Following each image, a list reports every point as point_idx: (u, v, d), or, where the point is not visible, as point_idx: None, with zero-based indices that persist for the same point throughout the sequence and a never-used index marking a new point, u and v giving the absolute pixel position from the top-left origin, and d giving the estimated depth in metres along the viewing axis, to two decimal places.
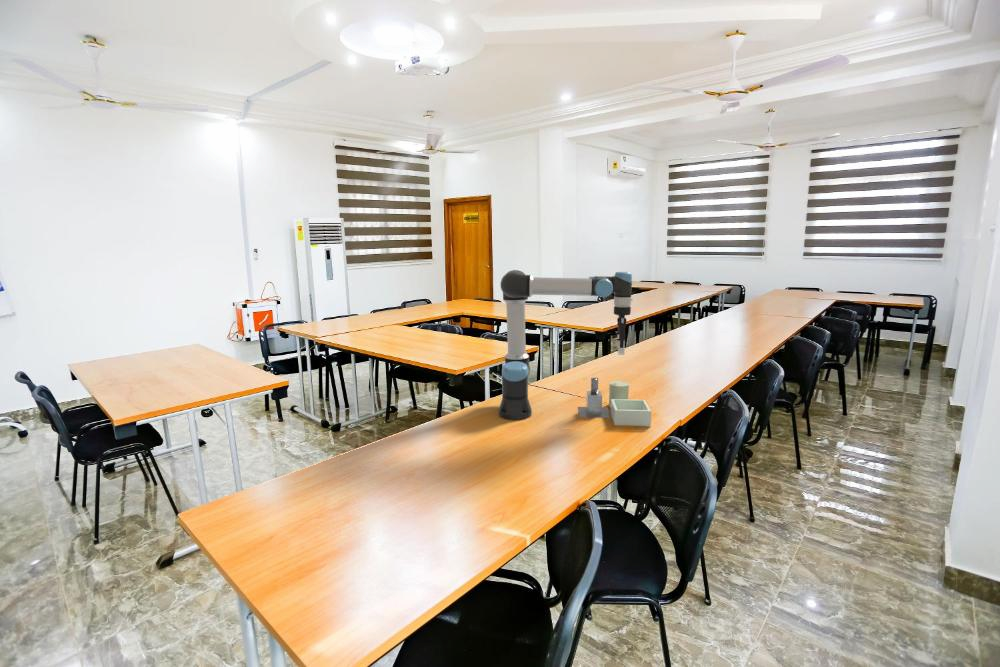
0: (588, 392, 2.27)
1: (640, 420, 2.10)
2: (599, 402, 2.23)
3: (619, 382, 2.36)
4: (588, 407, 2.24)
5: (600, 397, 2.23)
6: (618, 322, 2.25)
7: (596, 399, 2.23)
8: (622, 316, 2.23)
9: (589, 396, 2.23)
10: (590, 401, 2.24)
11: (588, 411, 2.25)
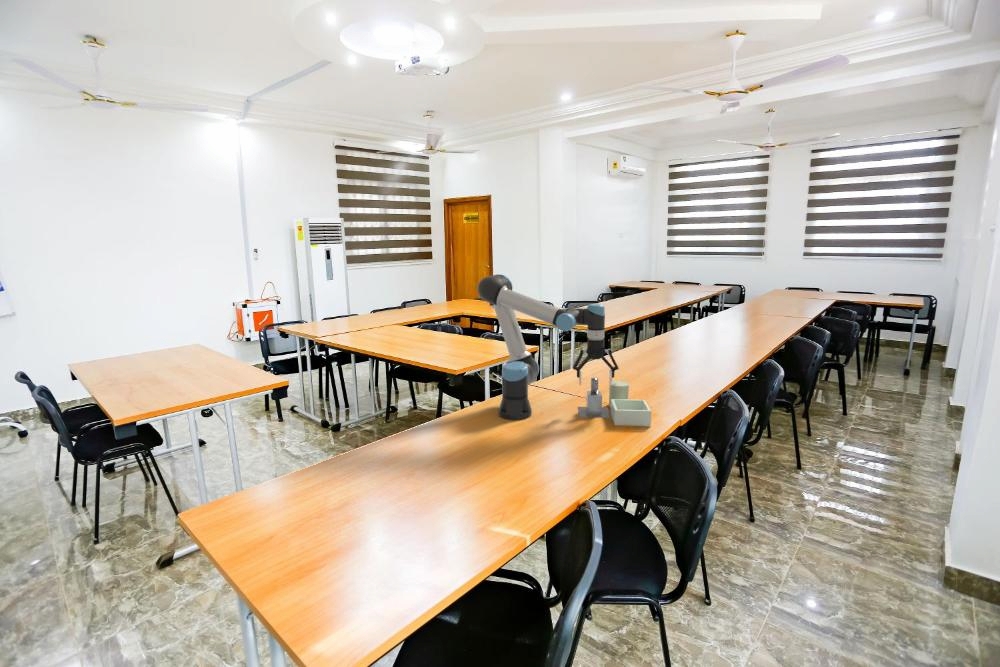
0: (588, 392, 2.27)
1: (640, 420, 2.10)
2: (599, 402, 2.23)
3: (619, 382, 2.36)
4: (588, 407, 2.24)
5: (600, 397, 2.23)
6: None
7: (596, 399, 2.23)
8: (587, 348, 2.22)
9: (589, 396, 2.23)
10: (590, 401, 2.24)
11: (588, 411, 2.25)
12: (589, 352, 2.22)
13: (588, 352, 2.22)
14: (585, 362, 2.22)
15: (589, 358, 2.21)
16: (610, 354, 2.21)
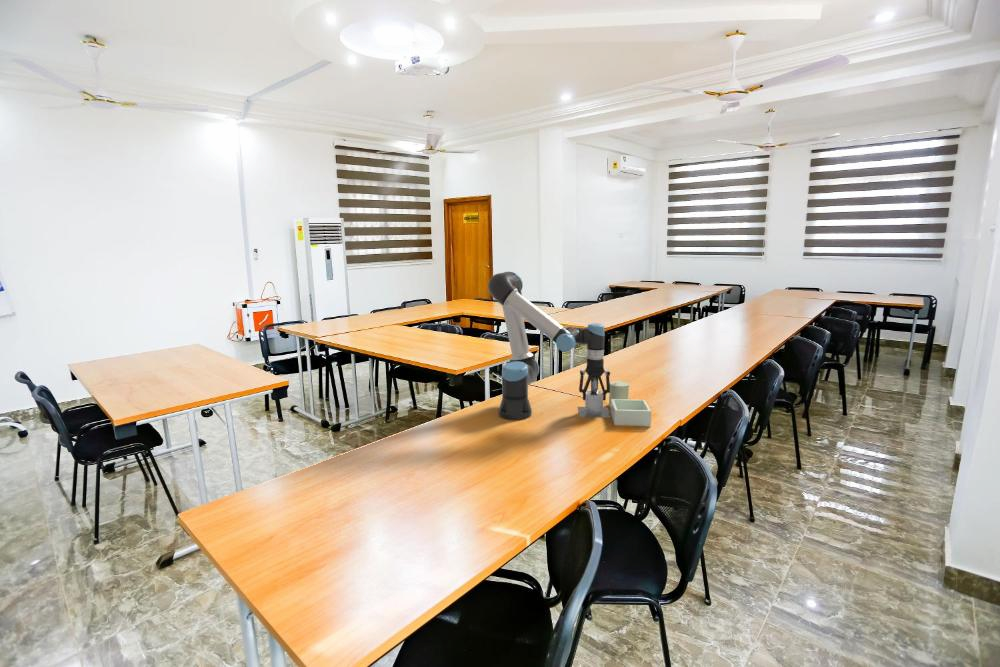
0: (588, 392, 2.27)
1: (640, 420, 2.10)
2: (599, 402, 2.23)
3: (619, 382, 2.36)
4: (588, 407, 2.24)
5: (600, 397, 2.23)
6: None
7: (596, 399, 2.23)
8: None
9: (589, 396, 2.23)
10: (590, 401, 2.24)
11: (588, 411, 2.25)
12: (588, 371, 2.23)
13: (588, 371, 2.23)
14: (588, 383, 2.24)
15: (590, 378, 2.23)
16: (607, 376, 2.23)
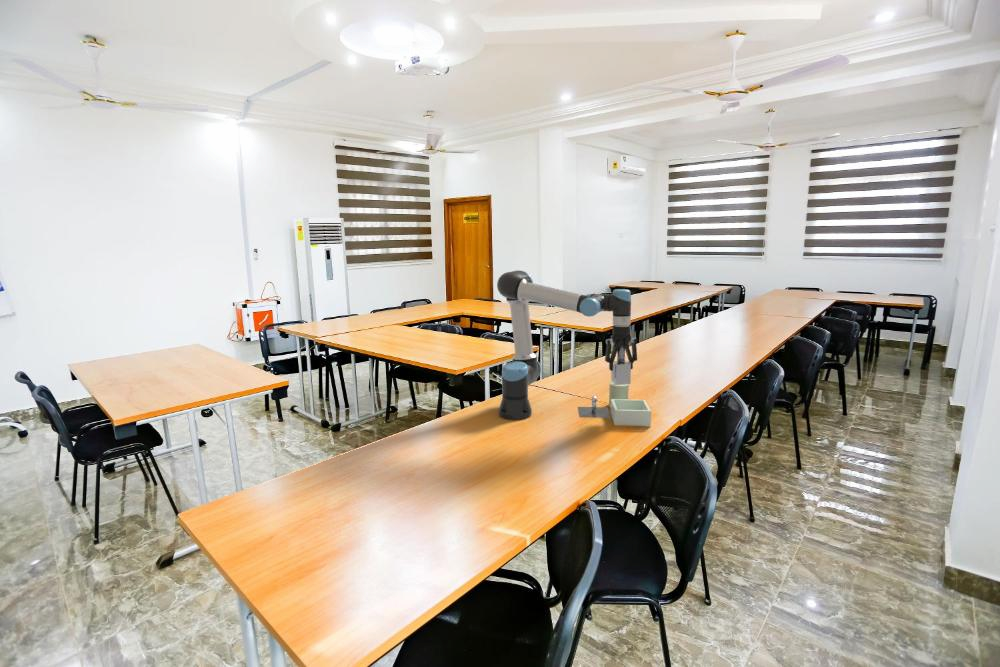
0: (614, 362, 2.17)
1: (640, 420, 2.10)
2: (628, 371, 2.14)
3: None
4: (617, 377, 2.14)
5: (629, 365, 2.14)
6: None
7: (625, 368, 2.14)
8: (612, 336, 2.14)
9: (618, 365, 2.13)
10: (619, 371, 2.14)
11: (617, 381, 2.15)
12: (616, 339, 2.13)
13: (615, 340, 2.13)
14: (615, 352, 2.14)
15: (618, 347, 2.13)
16: (635, 343, 2.15)
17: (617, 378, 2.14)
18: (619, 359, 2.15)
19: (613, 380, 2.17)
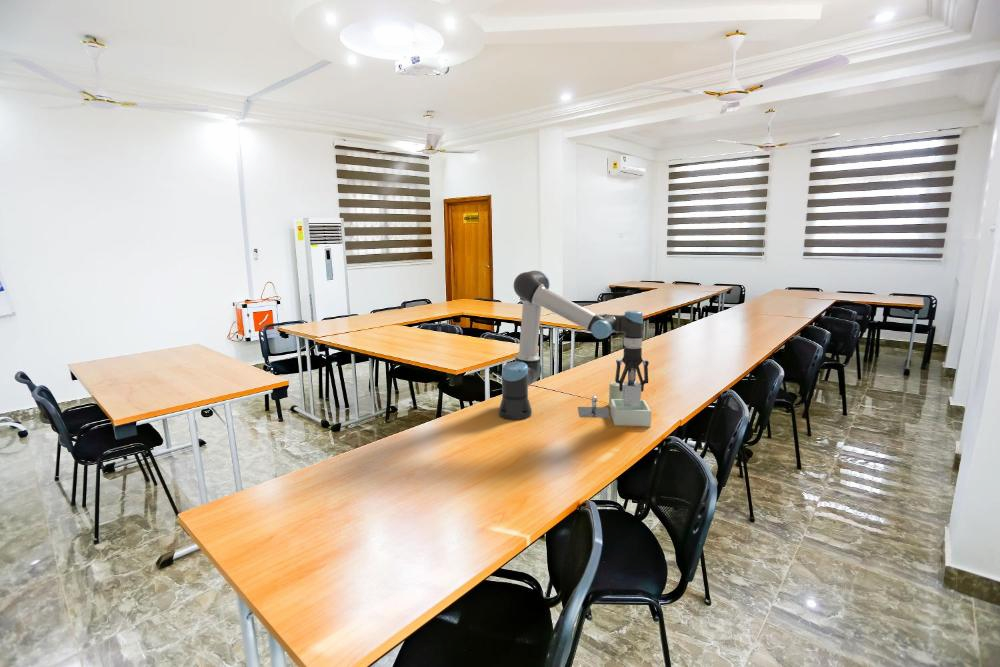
0: (625, 383, 2.17)
1: (640, 420, 2.10)
2: (637, 393, 2.13)
3: None
4: (625, 398, 2.14)
5: (638, 388, 2.12)
6: None
7: (634, 390, 2.12)
8: None
9: (626, 387, 2.13)
10: (628, 392, 2.13)
11: (625, 403, 2.14)
12: (626, 360, 2.13)
13: (625, 361, 2.13)
14: (625, 373, 2.13)
15: (628, 368, 2.12)
16: (646, 366, 2.12)
17: (625, 399, 2.14)
18: (629, 380, 2.14)
19: (623, 401, 2.17)
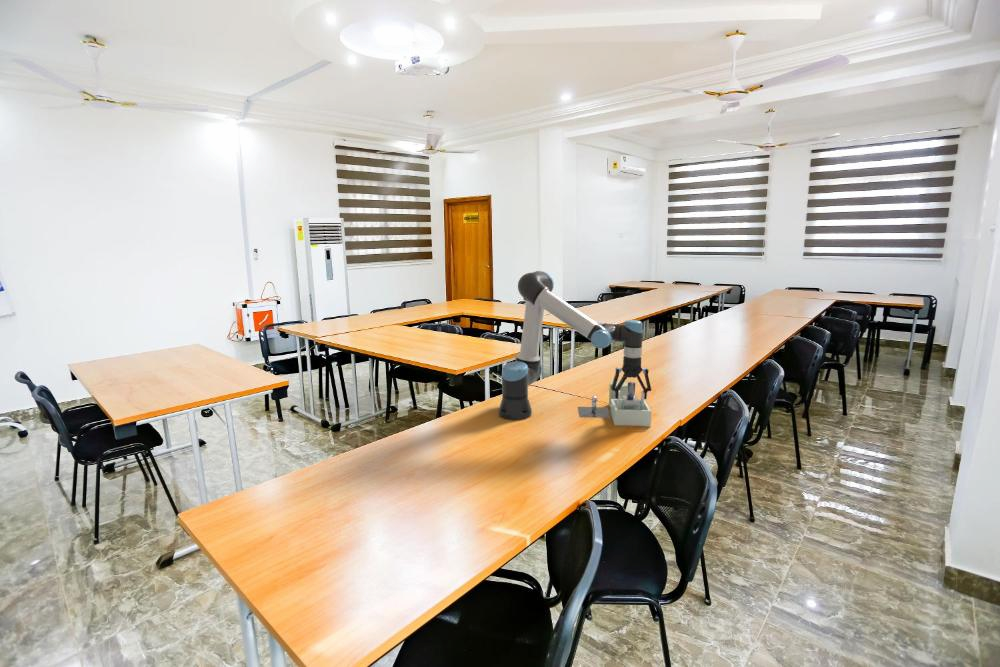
0: (624, 397, 2.18)
1: (640, 420, 2.10)
2: (636, 407, 2.14)
3: None
4: None
5: (637, 402, 2.13)
6: None
7: (633, 404, 2.14)
8: None
9: (626, 401, 2.14)
10: (627, 407, 2.14)
11: None
12: (625, 370, 2.13)
13: (624, 370, 2.13)
14: (623, 382, 2.14)
15: (626, 377, 2.13)
16: (646, 374, 2.13)
17: None
18: (628, 395, 2.15)
19: None
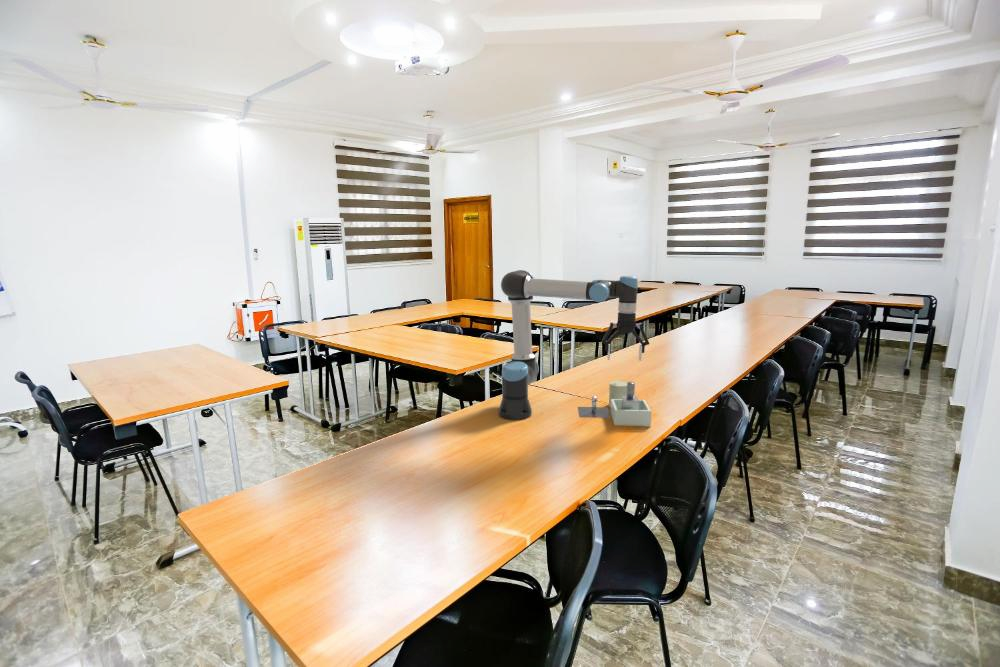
0: (624, 397, 2.18)
1: (640, 420, 2.10)
2: (636, 407, 2.14)
3: (619, 382, 2.36)
4: None
5: (637, 402, 2.13)
6: None
7: (633, 404, 2.14)
8: (617, 321, 2.16)
9: (626, 401, 2.14)
10: (627, 407, 2.14)
11: None
12: (619, 326, 2.15)
13: (618, 326, 2.15)
14: (615, 336, 2.16)
15: (619, 332, 2.15)
16: (641, 328, 2.14)
17: None
18: (628, 395, 2.15)
19: None
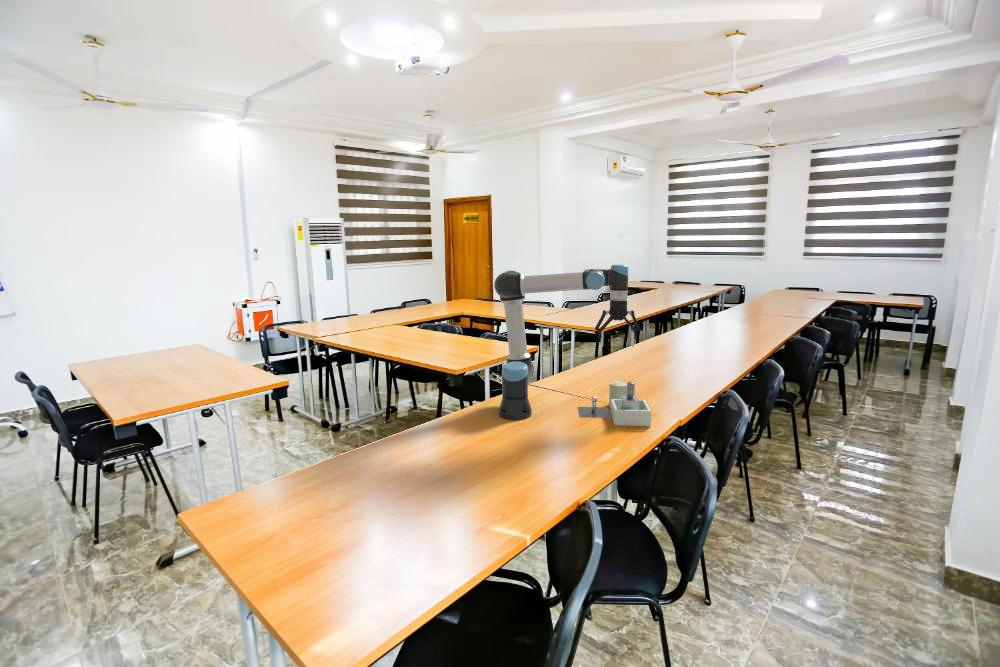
0: (624, 397, 2.18)
1: (640, 420, 2.10)
2: (636, 407, 2.14)
3: (619, 382, 2.36)
4: None
5: (637, 402, 2.13)
6: None
7: (633, 404, 2.14)
8: None
9: (626, 401, 2.14)
10: (627, 407, 2.14)
11: None
12: (612, 313, 2.21)
13: (611, 313, 2.21)
14: (607, 323, 2.22)
15: (611, 319, 2.21)
16: (633, 315, 2.20)
17: None
18: (628, 395, 2.15)
19: None
